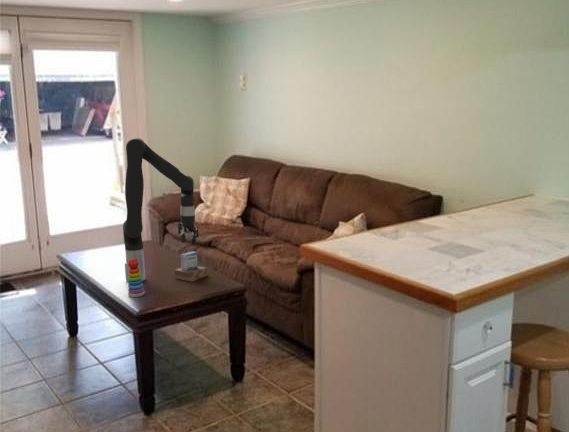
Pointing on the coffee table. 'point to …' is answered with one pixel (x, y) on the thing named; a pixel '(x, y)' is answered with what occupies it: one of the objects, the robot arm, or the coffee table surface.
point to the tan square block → (191, 274)
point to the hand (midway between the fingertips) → (188, 243)
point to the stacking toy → (135, 279)
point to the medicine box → (189, 261)
